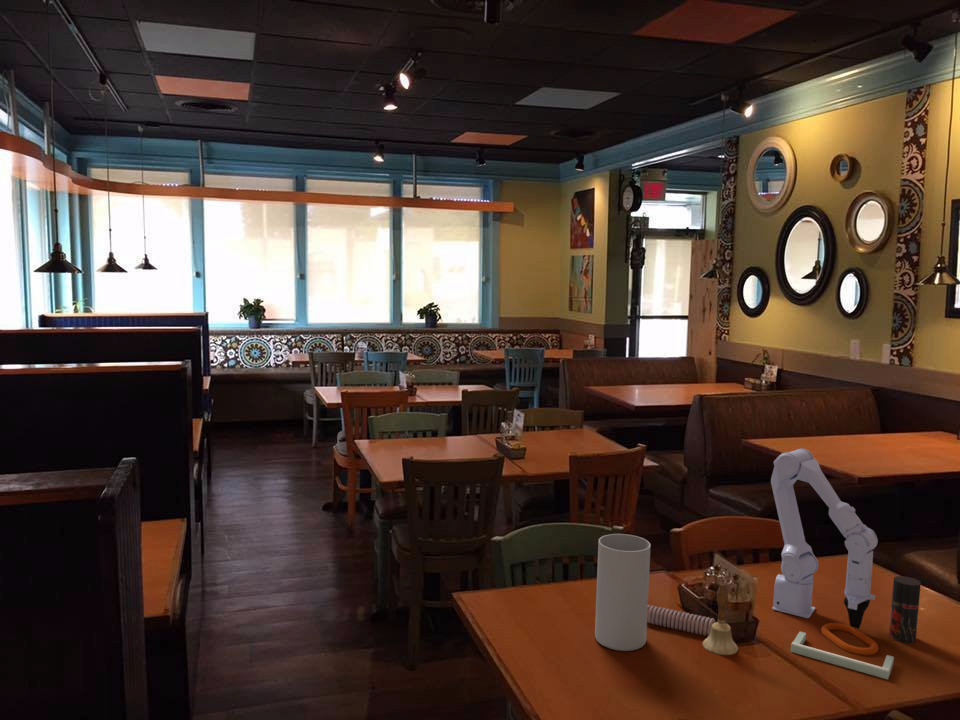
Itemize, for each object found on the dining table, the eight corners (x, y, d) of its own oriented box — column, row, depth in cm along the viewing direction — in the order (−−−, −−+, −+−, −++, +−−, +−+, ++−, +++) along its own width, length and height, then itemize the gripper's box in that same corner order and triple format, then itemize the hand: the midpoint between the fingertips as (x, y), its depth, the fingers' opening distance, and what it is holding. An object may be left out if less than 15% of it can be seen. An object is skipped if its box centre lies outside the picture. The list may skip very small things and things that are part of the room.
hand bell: (720, 658, 179) (723, 593, 177) (695, 643, 186) (698, 580, 185) (745, 651, 183) (749, 587, 181) (720, 636, 190) (723, 575, 188)
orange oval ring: (846, 620, 197) (887, 648, 183) (846, 626, 197) (887, 655, 183) (813, 623, 195) (852, 651, 181) (813, 629, 196) (851, 658, 181)
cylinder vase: (650, 635, 190) (655, 539, 187) (639, 657, 179) (644, 555, 176) (602, 624, 195) (606, 531, 192) (588, 645, 184) (592, 546, 181)
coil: (717, 616, 192) (647, 601, 200) (714, 621, 188) (642, 606, 196) (716, 634, 192) (646, 619, 200) (712, 640, 188) (641, 624, 196)
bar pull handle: (790, 651, 183) (791, 643, 183) (799, 638, 190) (799, 630, 190) (888, 679, 171) (888, 671, 170) (893, 664, 178) (893, 656, 178)
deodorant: (919, 644, 188) (924, 586, 187) (893, 641, 189) (898, 584, 188) (910, 633, 194) (915, 577, 192) (885, 630, 195) (890, 575, 193)
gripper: (871, 588, 185) (867, 641, 186) (880, 571, 197) (876, 620, 198) (840, 581, 189) (836, 633, 190) (850, 564, 201) (847, 613, 202)
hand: (855, 626), depth 195 cm, fingers closed
